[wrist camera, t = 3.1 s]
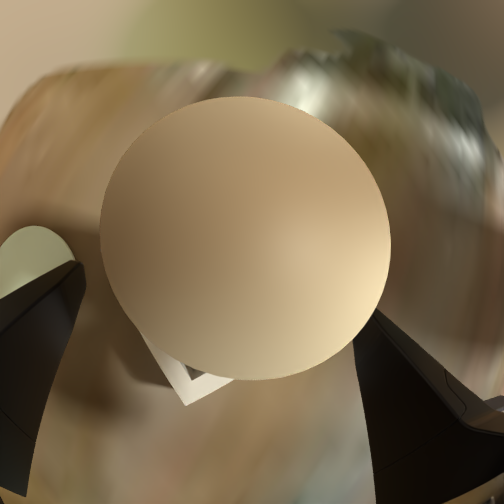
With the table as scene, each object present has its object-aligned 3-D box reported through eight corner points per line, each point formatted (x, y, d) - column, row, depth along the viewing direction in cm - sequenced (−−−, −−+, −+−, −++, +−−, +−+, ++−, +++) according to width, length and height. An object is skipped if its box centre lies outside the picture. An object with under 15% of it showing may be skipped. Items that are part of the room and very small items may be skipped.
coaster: (99, 315, 15) (96, 315, 15) (17, 363, 13) (12, 364, 12) (58, 207, 16) (54, 204, 15) (-16, 261, 14) (-20, 259, 13)
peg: (269, 306, 17) (427, 272, 5) (198, 347, 16) (202, 437, 3) (228, 236, 18) (295, 76, 5) (156, 274, 16) (65, 163, 4)
